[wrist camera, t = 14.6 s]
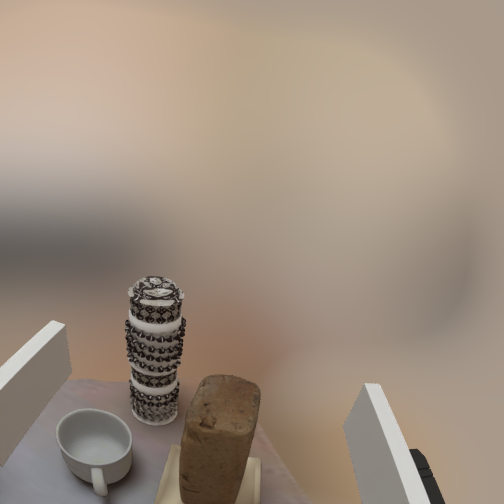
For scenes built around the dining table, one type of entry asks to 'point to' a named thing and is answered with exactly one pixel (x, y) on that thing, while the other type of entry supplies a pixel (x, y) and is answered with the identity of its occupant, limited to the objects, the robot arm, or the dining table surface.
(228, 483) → the block
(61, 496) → the dining table surface
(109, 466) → the teacup
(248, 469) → the beige packet
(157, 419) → the decorative candle
